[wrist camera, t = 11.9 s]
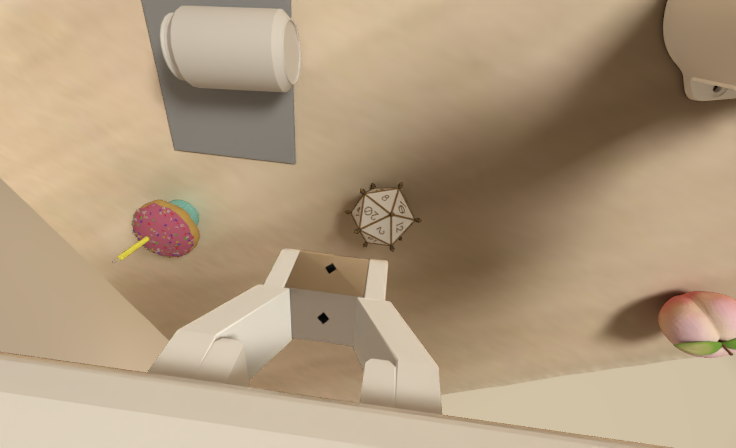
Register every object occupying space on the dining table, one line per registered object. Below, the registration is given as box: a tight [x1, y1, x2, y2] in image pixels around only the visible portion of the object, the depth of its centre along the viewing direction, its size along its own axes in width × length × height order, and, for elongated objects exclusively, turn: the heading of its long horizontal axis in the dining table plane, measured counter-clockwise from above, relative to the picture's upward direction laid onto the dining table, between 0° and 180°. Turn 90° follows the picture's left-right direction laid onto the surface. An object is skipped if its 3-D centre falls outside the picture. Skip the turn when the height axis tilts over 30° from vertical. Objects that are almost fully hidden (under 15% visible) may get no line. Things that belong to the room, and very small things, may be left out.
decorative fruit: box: [658, 291, 736, 358], centre depth 47 cm, size 9×8×10 cm
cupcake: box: [112, 200, 200, 263], centre depth 47 cm, size 9×8×12 cm
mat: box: [142, 0, 296, 164], centre depth 41 cm, size 16×20×1 cm
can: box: [160, 6, 301, 92], centre depth 36 cm, size 8×8×12 cm
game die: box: [345, 182, 422, 252], centre depth 44 cm, size 9×8×10 cm
